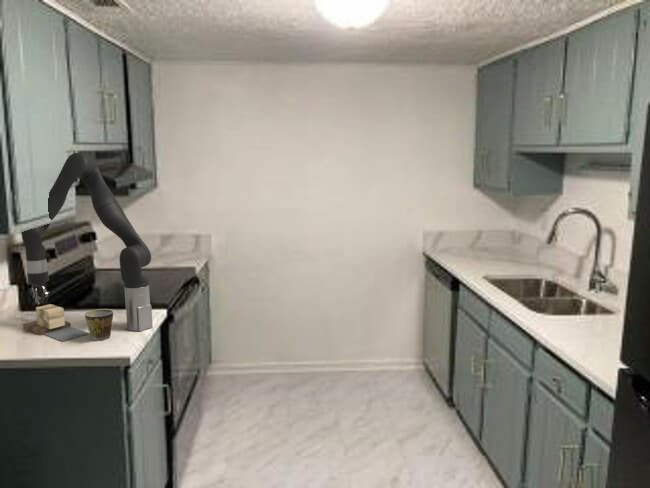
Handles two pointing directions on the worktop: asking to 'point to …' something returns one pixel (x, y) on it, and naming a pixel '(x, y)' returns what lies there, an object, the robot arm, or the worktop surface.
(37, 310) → the block
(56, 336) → the mat
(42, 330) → the brown flat slab
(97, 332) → the ceramic cup
